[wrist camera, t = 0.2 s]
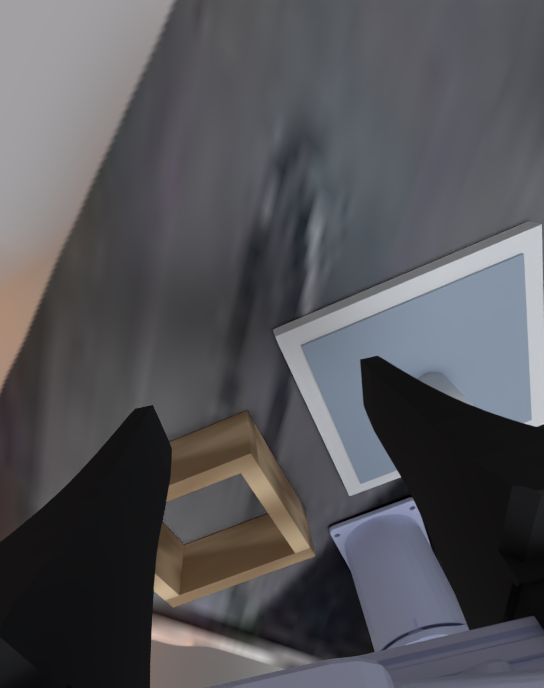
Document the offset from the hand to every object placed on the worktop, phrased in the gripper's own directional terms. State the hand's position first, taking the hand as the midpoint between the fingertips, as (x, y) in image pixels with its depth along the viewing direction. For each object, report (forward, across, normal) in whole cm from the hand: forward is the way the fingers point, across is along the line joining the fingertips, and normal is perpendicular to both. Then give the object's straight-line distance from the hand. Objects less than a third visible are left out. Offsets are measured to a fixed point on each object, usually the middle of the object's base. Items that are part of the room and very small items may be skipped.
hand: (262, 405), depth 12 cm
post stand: (+10, -11, +8) cm, 17 cm away
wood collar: (+10, +6, +15) cm, 19 cm away
